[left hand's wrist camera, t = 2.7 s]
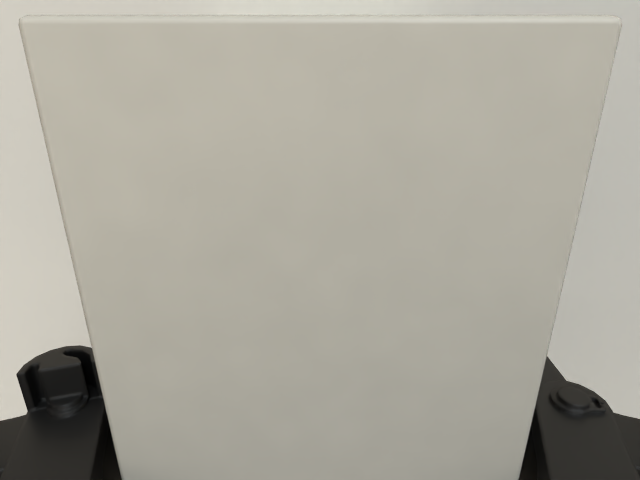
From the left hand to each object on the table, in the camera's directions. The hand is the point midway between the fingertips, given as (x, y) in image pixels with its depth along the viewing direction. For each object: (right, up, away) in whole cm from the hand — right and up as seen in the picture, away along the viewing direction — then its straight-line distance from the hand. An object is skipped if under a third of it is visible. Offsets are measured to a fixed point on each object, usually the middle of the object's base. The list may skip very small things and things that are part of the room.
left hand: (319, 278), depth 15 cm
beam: (0, -19, +8) cm, 21 cm away
